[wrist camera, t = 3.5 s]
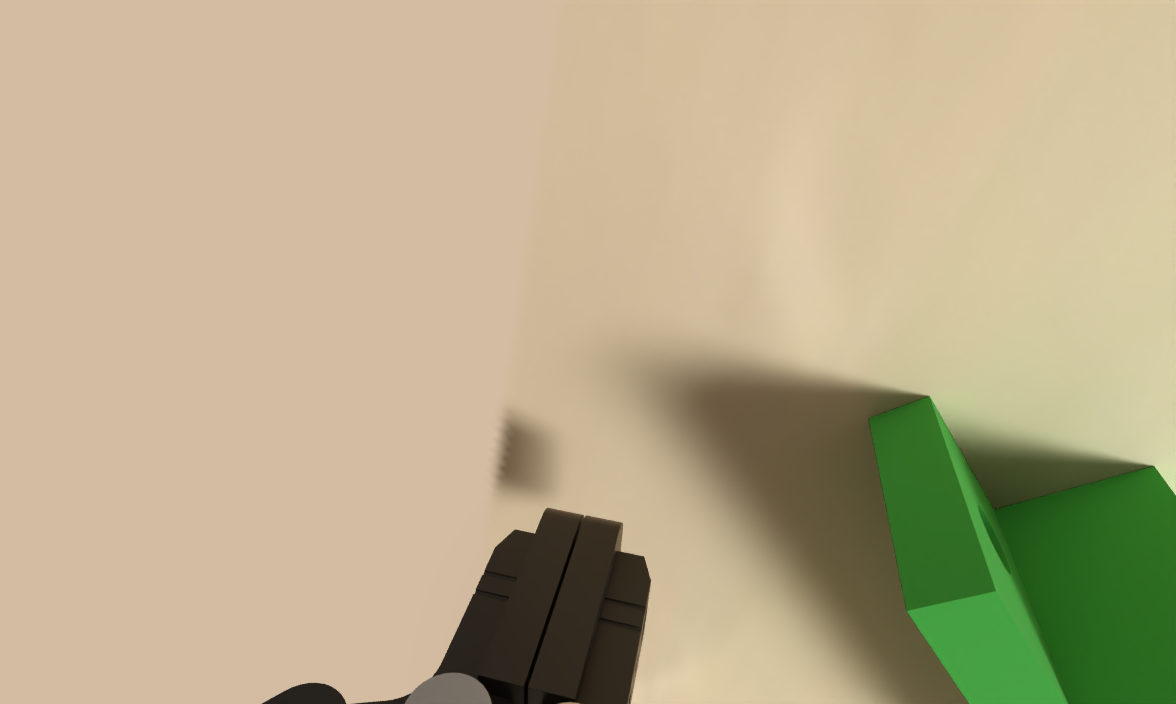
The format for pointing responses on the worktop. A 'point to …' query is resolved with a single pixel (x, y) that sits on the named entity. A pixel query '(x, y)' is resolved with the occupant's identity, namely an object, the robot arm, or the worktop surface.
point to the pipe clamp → (1031, 574)
